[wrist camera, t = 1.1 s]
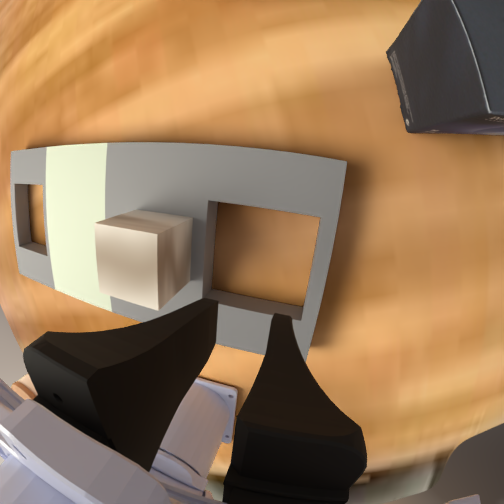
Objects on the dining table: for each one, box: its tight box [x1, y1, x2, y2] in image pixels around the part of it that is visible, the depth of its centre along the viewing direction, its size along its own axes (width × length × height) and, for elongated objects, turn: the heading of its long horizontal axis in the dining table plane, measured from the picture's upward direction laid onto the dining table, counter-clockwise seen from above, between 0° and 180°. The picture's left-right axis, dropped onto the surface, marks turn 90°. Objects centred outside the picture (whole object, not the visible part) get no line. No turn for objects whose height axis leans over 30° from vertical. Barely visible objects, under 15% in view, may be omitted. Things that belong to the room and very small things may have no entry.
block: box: [94, 210, 193, 311], centre depth 18 cm, size 4×4×4 cm
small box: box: [386, 0, 504, 135], centre depth 9 cm, size 11×6×10 cm, turn 101°
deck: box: [11, 142, 347, 362], centre depth 21 cm, size 14×32×2 cm, turn 84°
